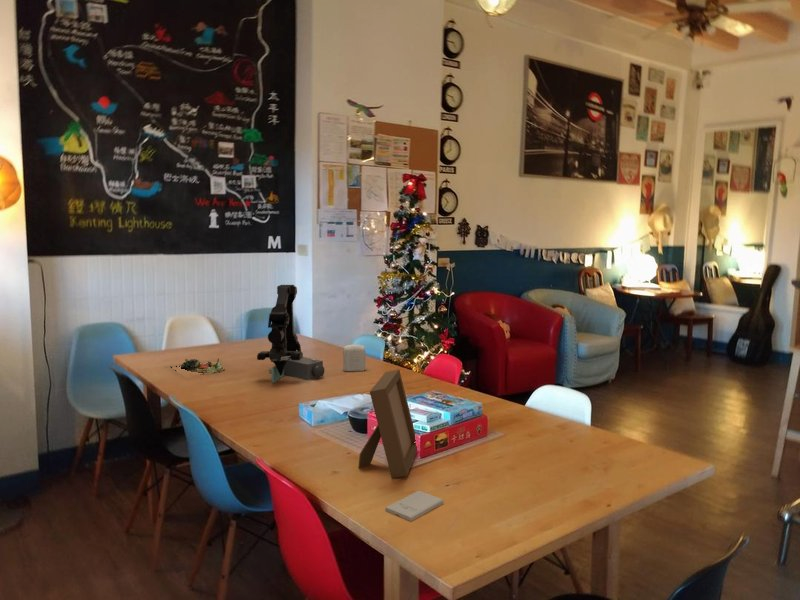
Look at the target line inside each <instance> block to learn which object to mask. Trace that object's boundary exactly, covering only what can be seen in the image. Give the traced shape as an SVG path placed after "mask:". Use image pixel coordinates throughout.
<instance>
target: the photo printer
mask: <svg viewBox="0 0 800 600" xmlns="http://www.w3.org/2000/svg"><path fill="white" fill-rule="evenodd" d="M342 357H343V358H342V359H343V363H342V365H343V372H365V371H366V348H365V345H362V344H356V343H352V344H348V345H345V346H344V347H343V356H342ZM364 370H365V371H364Z"/></svg>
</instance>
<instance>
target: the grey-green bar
mask: <svg viewBox="0 0 800 600" xmlns="http://www.w3.org/2000/svg"><path fill="white" fill-rule="evenodd" d="M268 371H269V372H268V374H269V375H271V384H274V383H276V382H277V381H279V380H280V379H281V378H282V377H283V376H285V375H284V370H283V373H282V375H281V376H280V374H279V372H278V369H277V367H276V365H274V366H273V367H271V369H269V370H268Z"/></svg>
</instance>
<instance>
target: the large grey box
mask: <svg viewBox="0 0 800 600" xmlns="http://www.w3.org/2000/svg"><path fill="white" fill-rule="evenodd" d="M323 361H324V360H320V359H316V358H311V357H310V358H309V357H305V356H303V358H302V359H300V360H292V359H290V360H288V361H287V362H286V364H285V367H284V375H283V376H288V377H292V378H297V379H301V380H306V381H311V380H314V378H315V379H317V378H322V377H324V374H325V367H324V362H323Z"/></svg>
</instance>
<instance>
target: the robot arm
mask: <svg viewBox="0 0 800 600" xmlns="http://www.w3.org/2000/svg"><path fill="white" fill-rule="evenodd" d="M276 289H277V290H276V294H277V298H276V302H275V306H274V307H272V308H271V311H270V313H269V316H268V323H267V328H268V329H271V330H270V331H269V332H268V335H267V340H268V342H269V343H271V348H270V350H269V351H268V350H266V351H265V350H263V351H259V352H258V353H257V354H256V355H257V356H256V359H257V361H264V360H265V359H267V358H268V359H269V360H270V362H271V363H273V364H274V366H276V367H277V369H278V372H279V374H280V376H281V375H282V373H283V370H284V367H285V364H286V362H287V361H288V360H290V359H292V360H300V359H302V358H303V357H304V353H303V352H302V349H301V348H302V347H301V343H300V341H299V339H298V338H299V337H298V335H297V334H296V333H295V326H294V325H295V324H294V304H293V303H294V301H295V300H296V297H297V295H298V288H297V286H295V284H279V285H277V286H276Z"/></svg>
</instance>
